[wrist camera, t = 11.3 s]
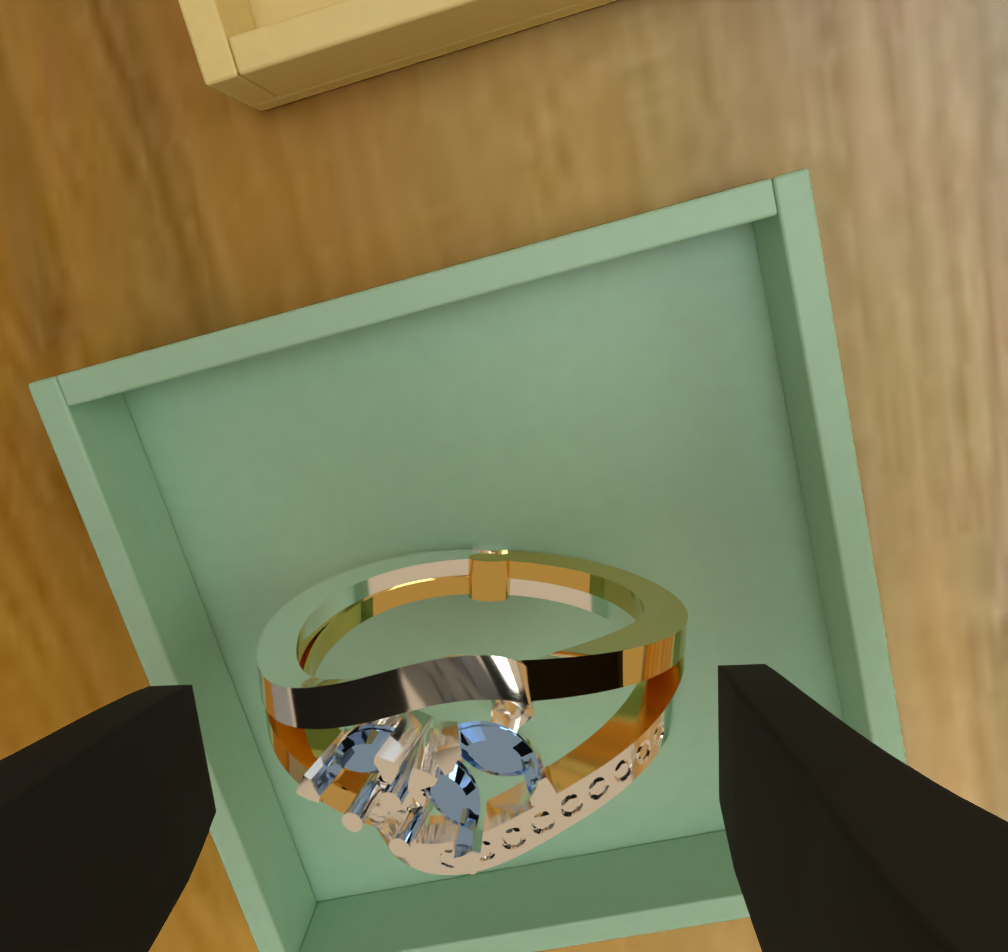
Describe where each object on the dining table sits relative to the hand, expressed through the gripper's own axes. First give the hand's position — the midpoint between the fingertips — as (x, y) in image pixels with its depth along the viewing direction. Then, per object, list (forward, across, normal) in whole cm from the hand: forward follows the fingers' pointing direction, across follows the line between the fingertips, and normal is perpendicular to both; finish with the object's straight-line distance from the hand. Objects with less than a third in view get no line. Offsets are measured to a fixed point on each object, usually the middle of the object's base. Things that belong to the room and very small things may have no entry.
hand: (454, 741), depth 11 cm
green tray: (+7, 0, +1) cm, 7 cm away
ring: (+7, 0, 0) cm, 7 cm away
